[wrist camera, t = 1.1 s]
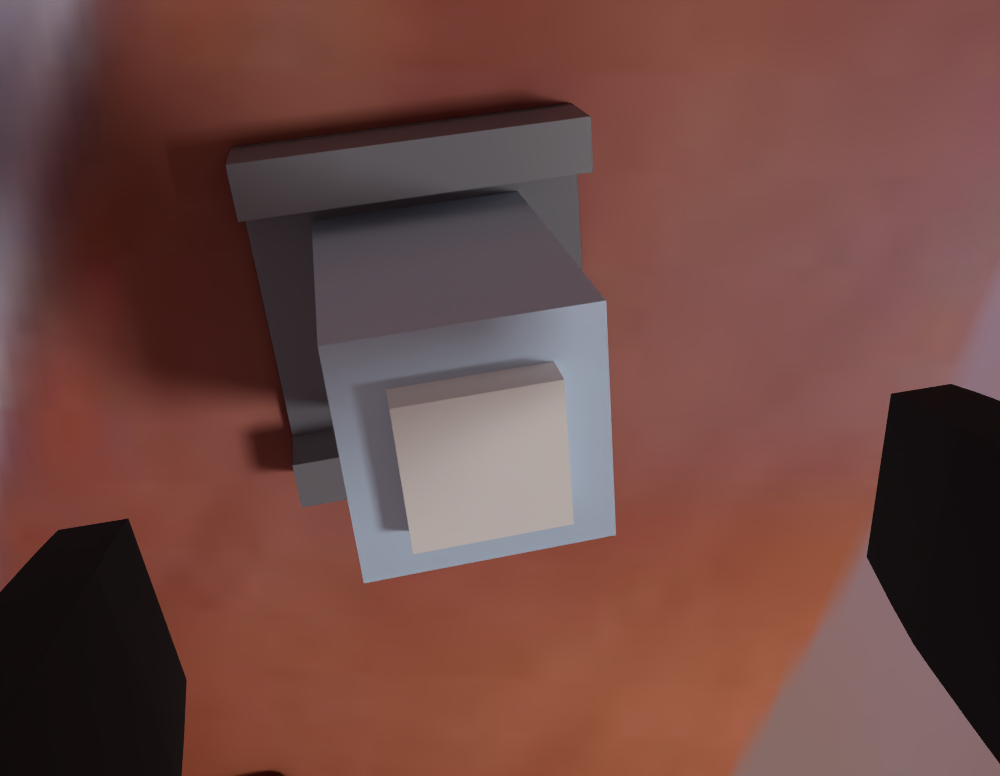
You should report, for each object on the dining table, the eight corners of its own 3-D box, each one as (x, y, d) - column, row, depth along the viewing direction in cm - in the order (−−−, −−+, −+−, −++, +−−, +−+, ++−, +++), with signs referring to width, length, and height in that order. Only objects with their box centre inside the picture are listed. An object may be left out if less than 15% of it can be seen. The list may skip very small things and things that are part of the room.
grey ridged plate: (587, 421, 21) (605, 452, 20) (301, 472, 21) (301, 507, 19) (570, 102, 18) (590, 116, 17) (230, 147, 17) (225, 164, 16)
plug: (533, 374, 20) (627, 557, 15) (345, 406, 20) (366, 608, 14) (517, 191, 19) (619, 316, 13) (311, 220, 18) (318, 365, 12)
